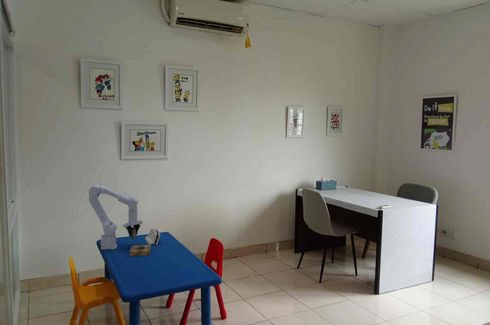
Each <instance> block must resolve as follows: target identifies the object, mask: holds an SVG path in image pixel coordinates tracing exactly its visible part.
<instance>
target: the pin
mask: <svg viewBox="0 0 490 325" xmlns="http://www.w3.org/2000/svg"><path fill="white" fill-rule="evenodd" d="M132 227H133V226H132ZM129 237H130V236H129ZM136 238H137V235H136V228H135V227H133V230H132V237H130V240H136Z"/></svg>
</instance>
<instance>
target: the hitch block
mask: <svg viewBox="0 0 490 325" xmlns="http://www.w3.org/2000/svg"><path fill="white" fill-rule="evenodd" d="M151 246H152V244H151V245H149V244H145V245H144V244H142V245H140V244H139V245H131V247H130V250H129V257H140V256H142V257H143V256H145V257H146V256H148V257H149V256H150V254H151V250H152V247H151Z"/></svg>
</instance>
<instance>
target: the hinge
mask: <svg viewBox="0 0 490 325" xmlns="http://www.w3.org/2000/svg"><path fill="white" fill-rule="evenodd" d="M147 234H148V235H147V236H145V238H144V240H145V241H146V243H147V245H151V246H152V245H156V246H158V244H159V240H160V237H161V233H160V231H159V230H158V229H156V228H150V230H149V232H148V233H147Z"/></svg>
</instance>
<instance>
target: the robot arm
mask: <svg viewBox="0 0 490 325" xmlns="http://www.w3.org/2000/svg"><path fill="white" fill-rule="evenodd" d="M103 194H104V195H105V194H106V195H108V196H111V197H113V198H116V199H117V201H118V202H120V203H122V204H125V205H127V207H128V222H126V223H123V224H122V228H125V229H126V231H127V233H128V237H132V230H133V227H135V228H136V236H138V232H139V230H140V228H141V225H143V220H138V204H139V201H138V199H137V198H136V197H133V196H130V195H127V194H126V193H125V192H124V193H123V192H121V193H118V192H116V190H115V191H114V190H113V189H112V188H109V187H107V186H106V185H104V184H103V185H102V184H101V183H95V184H94V185H92V186H91V187H90V188H89V190H88V201H89V203H90V205H91V207H92V208H93V210H94V212H95V214H96V215H97V217H98V218H99V221H100V222H101V225H102V229H103V234H101V236H100V250H116V249H117V247H118V244H117V233H116V230H117V225H116V224H115V223H114V222H113V221H112V220H111V219H110V218H109V216H108V215H107V212H106V211H105V209H104V208H103V205H102V204H101V202H100V200H99V197H100V195H103Z"/></svg>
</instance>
